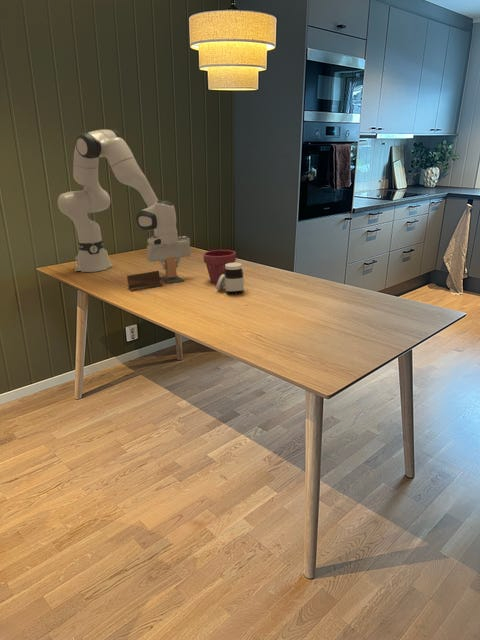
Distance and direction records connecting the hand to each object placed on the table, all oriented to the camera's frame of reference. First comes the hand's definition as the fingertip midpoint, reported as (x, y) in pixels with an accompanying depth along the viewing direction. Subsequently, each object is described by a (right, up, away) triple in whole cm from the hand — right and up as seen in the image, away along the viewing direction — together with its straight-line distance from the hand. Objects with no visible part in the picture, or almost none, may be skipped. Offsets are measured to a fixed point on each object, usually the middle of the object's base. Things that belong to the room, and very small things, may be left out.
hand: (170, 268), depth 215 cm
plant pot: (+23, -6, -3) cm, 24 cm away
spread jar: (+28, -12, -19) cm, 35 cm away
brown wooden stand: (-10, -9, -9) cm, 16 cm away
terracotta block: (0, -3, +1) cm, 4 cm away
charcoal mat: (0, -5, +2) cm, 5 cm away
